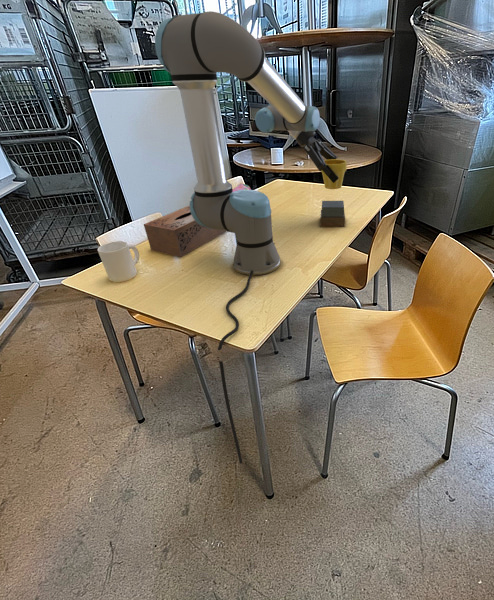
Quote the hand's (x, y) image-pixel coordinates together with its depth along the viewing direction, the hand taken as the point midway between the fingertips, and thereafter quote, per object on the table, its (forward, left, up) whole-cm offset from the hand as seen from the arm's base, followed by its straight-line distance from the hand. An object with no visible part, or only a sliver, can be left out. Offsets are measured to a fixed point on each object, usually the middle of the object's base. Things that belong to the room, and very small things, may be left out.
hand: (340, 177), depth 132 cm
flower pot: (+1, +3, -4) cm, 5 cm away
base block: (+1, +3, -19) cm, 19 cm away
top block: (+1, +3, -15) cm, 15 cm away
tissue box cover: (-19, +58, -19) cm, 64 cm away
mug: (-46, +69, -19) cm, 85 cm away
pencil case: (+23, +50, -19) cm, 58 cm away
